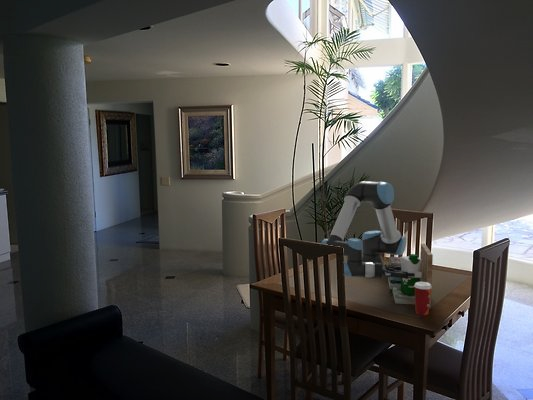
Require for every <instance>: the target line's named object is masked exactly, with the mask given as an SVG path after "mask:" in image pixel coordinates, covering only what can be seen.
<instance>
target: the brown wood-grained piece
mask: <svg viewBox="0 0 533 400" xmlns="http://www.w3.org/2000/svg"><path fill="white" fill-rule="evenodd" d="M433 257H434V254H433V253H432V252H431V249H430V248H429V247H428V246H427V245H426V243H420V257H419V258H420V259H422V262H421V272H422V277H421V278H420V282H427V283H430V284H431V287H433V286H432V285H433V284H432V281H433ZM400 289H401V288H396V285H393V289H392V296H393V300H394V303H395V304H400V305H401V304H404V305H415V295H406V294H404V293H403V292H401V291H400ZM432 289H433V288H431V290H432ZM431 308H432V293H431V294H430V304H429V309H431Z"/></svg>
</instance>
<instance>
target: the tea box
mask: <svg viewBox="0 0 533 400" xmlns="http://www.w3.org/2000/svg"><path fill="white" fill-rule="evenodd" d="M401 257H402V256H389V257H388V265H401ZM387 279H388V287H389V290H393V285H396V288H401V278H397V277H387Z"/></svg>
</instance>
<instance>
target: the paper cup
mask: <svg viewBox="0 0 533 400" xmlns="http://www.w3.org/2000/svg"><path fill="white" fill-rule="evenodd" d="M414 287H415V304H414V305H415V306H414V307H415V313H416V314H417V315H418V316H419V315H420V316H428V315H429V311H430V308H429V304H430V294H431V295H432V289H433V288H432V287H433V286H432V287H431V284H430V283H427V282H416V283H415V285H414ZM431 288H432V289H431Z"/></svg>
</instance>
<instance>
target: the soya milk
mask: <svg viewBox="0 0 533 400" xmlns="http://www.w3.org/2000/svg"><path fill="white" fill-rule="evenodd" d="M418 256H419V255H418V254H415V253H411V254H409V255H408V256H400V257H401V271H404V272H408V271H412V272H421V262H422V259H420V257H418ZM416 282H420V278H418V277H408V279H406V278H401V289H400V291H401V292H403V293H404V294H406V295H415V287H414V285H415V283H416Z"/></svg>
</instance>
